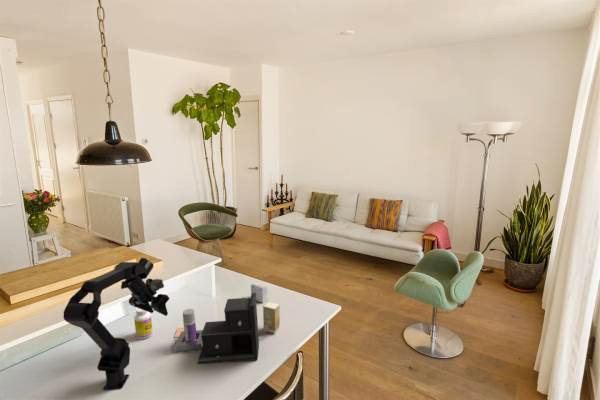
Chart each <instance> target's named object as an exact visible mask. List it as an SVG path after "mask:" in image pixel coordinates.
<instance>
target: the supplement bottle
mask: <svg viewBox="0 0 600 400" xmlns="http://www.w3.org/2000/svg"><path fill="white" fill-rule="evenodd" d="M135 313H136V314H135V315H134V317H133V320H134V329H135V336H136V339H138V340H146V339H148V338H150V337H152V335H153V333H154V331H153V323H152V313H150V312H147V311H145V310H142V309H139V308H137V307H136V309H135Z"/></svg>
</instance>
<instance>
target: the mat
mask: <svg viewBox="0 0 600 400" xmlns="http://www.w3.org/2000/svg"><path fill="white" fill-rule="evenodd" d="M183 331H184V327H177V330H176V332H175V334H174V336H173V338H174V339H178V338H179V336H180V334H181V332H183Z"/></svg>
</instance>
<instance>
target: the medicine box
mask: <svg viewBox="0 0 600 400" xmlns="http://www.w3.org/2000/svg"><path fill="white" fill-rule="evenodd" d="M250 293H251V294H250V296H251V295H252V293H256V302H258V303H262V304H264V303H266V302H268V300H269V294H268V293H269V292H268V285H267V284H265V283H261V282H258V281H255V282H253V283H252V284H250Z"/></svg>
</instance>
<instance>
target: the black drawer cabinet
mask: <svg viewBox="0 0 600 400" xmlns="http://www.w3.org/2000/svg"><path fill="white" fill-rule="evenodd" d="M223 312H224V320H218V321H217V320H216V321H215V320H213V321H205V324H204V326H203V328H202V330H203V331H202V334H201V337H202V345H203V347H202V349H201V351H199V352H200V353H199V356H198V358H197V361H196V363H197V364H198V365H203V364H215V363H217V364H218V363H229V362H243V361H256V360H258V358H259V350H260V349H259V348H260V347H259V346H260V339H259V326H258V310H257V301H256V293H252V295H251V294H250V297H241V298H240V297H239V298H228V299H227V300H226V303H225V306H224V310H223Z"/></svg>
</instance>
